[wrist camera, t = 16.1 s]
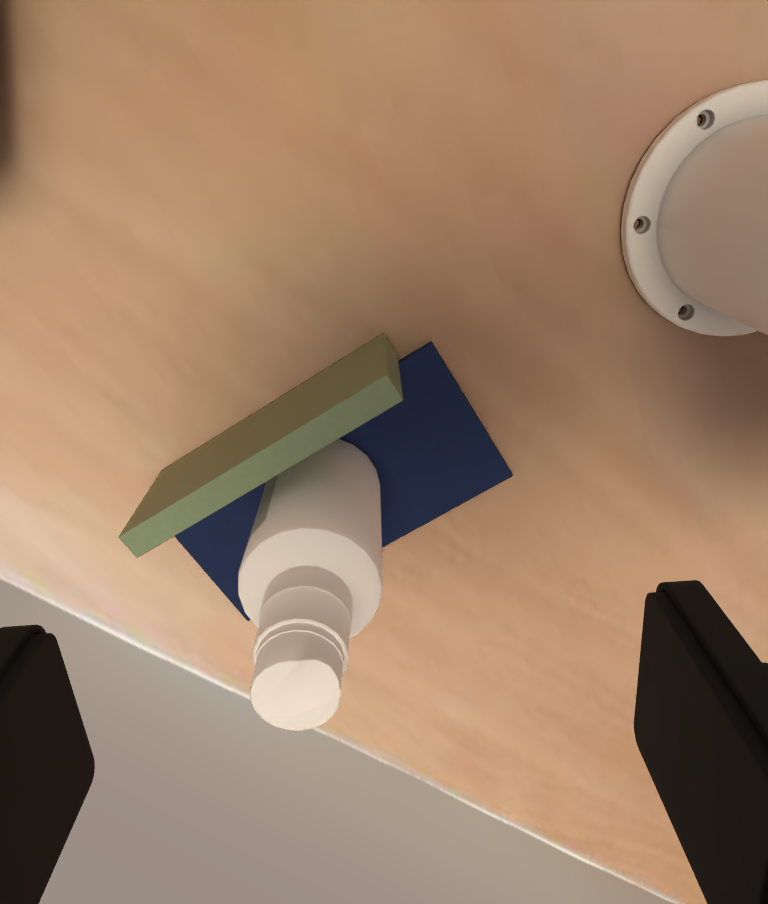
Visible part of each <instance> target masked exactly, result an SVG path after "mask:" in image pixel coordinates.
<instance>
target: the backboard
mask: <svg viewBox="0 0 768 904" xmlns="http://www.w3.org/2000/svg"><path fill="white" fill-rule="evenodd" d="M401 401H403V395H402V387H401V379H400V370H399V362H398V354H397V352H396V351H395V349H394V347H393V346H392V344H391V343H390V341H389V340H388V338H387V336H386V335H385V333H383V334H381V335H379V336H378V337H376V338H375V339H373V340H371V341H370V342H368V343H367V344H365V345H363V346H362V347H360V348H358V349H357V350H355V351H354V352H352V353H350V354H349V355H347V356H346V357H344V358H342V359H341V360H339V361H337V362H336V363H334V364H333V365H331V366H329V367H328V368H326V369H325V370H323V371H321V372H320V373H318V374H316V375H315V376H313V377H312V378H310V379H308V380H307V381H305V382H304V383H302V384H300V385H299V386H297V387H295V388H294V389H292V390H291V391H289V392H287V393H286V394H284V395H283V396H281V397H279V398H278V399H276V400H274V401H273V402H271V403H270V404H268V405H266V406H265V407H263V408H262V409H260V410H258V411H257V412H255V413H253V414H252V415H250V416H249V417H247V418H245V419H244V420H242V421H241V422H239V423H237V424H236V425H234V426H232V427H231V428H229V429H228V430H226V431H224V432H223V433H221V434H220V435H218V436H216V437H215V438H213V439H212V440H210V441H208V442H207V443H205V444H203V445H202V446H200V447H199V448H197V449H195V450H194V451H192V452H191V453H189V454H187V455H186V456H184V457H182V458H181V459H179V460H178V461H176V462H174V463H173V464H171V465H170V466H168V467H166V468H165V469H163V470H162V471H161V472H160V474H159V475H158V477H157V478H156V480H155V481H154V483H153V485H152V486H151V488H150V489H149V491H148V492H147V494H146V495H145V497H144V498H143V500H142V501H141V503H140V505H139V506H138V508H137V509H136V511H135V512H134V514H133V515H132V517H131V518H130V520H129V521H128V523H127V525H126V526H125V528H124V529H123V531H122V532H121V534H120V535H119V538H120V539H121V541H122V542H123V543H124V544H125V545H126V546H127V547H128V548H129V549H130V551H131V552H132V553H133V554H134V555H135V556H136V557H137V558H138V557H140V556H142V555H143V554H145V553H147V552H148V551H150V550H152V549H153V548H155V547H157V546H158V545H160V544H162V543H163V542H165V541H167V540H169V539H170V538H172V537H174V536H175V535H177V534H179V533H180V532H182V531H184V530H185V529H187V528H189V527H190V526H192V525H194V524H196V523H197V522H199V521H201V520H202V519H204V518H206V517H207V516H209V515H211V514H212V513H214V512H216V511H217V510H219V509H221V508H222V507H224V506H226V505H228V504H229V503H231V502H233V501H234V500H236V499H238V498H239V497H241V496H243V495H244V494H246V493H248V492H249V491H251V490H253V489H255V488H256V487H258V486H260V485H261V484H263V483H265V482H266V481H268V480H270V479H271V478H273V477H275V476H276V475H278V474H280V473H281V472H283V471H285V470H287V469H288V468H290V467H292V466H293V465H295V464H297V463H298V462H300V461H302V460H303V459H305V458H307V457H308V456H310V455H312V454H314V453H315V452H317V451H319V450H320V449H322V448H324V447H325V446H327V445H329V444H330V443H332V442H334V441H335V440H337V439H339V438H341V437H342V436H344V435H346V434H347V433H349V432H351V431H352V430H354V429H356V428H357V427H359V426H361V425H362V424H364V423H366V422H367V421H369V420H371V419H373V418H374V417H376V416H378V415H379V414H381V413H383V412H384V411H386V410H388V409H389V408H391V407H393V406H394V405H396V404H398V403H400V402H401Z"/></svg>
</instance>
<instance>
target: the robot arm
mask: <svg viewBox="0 0 768 904" xmlns="http://www.w3.org/2000/svg"><path fill="white" fill-rule="evenodd" d="M698 115H701V116H702V123H701V124H700V125H699V126H698V125H697V117H698ZM636 219H640V222H641V223H640V226H639V227H638V228H634V226H633V225H634V222H635V220H636ZM621 240H622V252H623V256H624V260H625V264H626V267H627V271H628V274H629V276H630V278H631V280H632V282H633V284H634V285H635V287H636V289H637V291H638V293H639V294H640V295H641V296H642V298H643V299H644V300H645V301H646V302H647V303H648V305H649V306H650V307H651V308H652V309H654V310H655V311H656V312H657V313H659V314H660V315H661V316H663V317H664V318H665V319H667V320H668V321H670V322H672V323H674V324H675V325H677V326H679V327H681V328H684V329H687V330H690V331H693V332H696V333H699V334H705V335H713V336H736V335H745V334H749V333H753V332H757V331H760V332H762V333H764V334H766V335H768V80H764V81H757V82H750V83H744V84H740V85H737V86H733V87H730V88H726V89H723V90H720V91H718V92H716V93H714V94H712V95H710V96H708V97H706V98H704V99H702V100H700V101H698V102H696V103H695V104H693V105H692V106H691V107H689V108H688V109H687V110H685V111H684V112H683V113H681V114H680V115H679V116H677V117H676V118H675V119H674V120H673V121H672V122H671V123H670V124H669V125H668V126H667V127H666V128H665V129H664V130H663V131H662V132H661V133H660V134H659V135H658V136H657V137H656V139H655V140H654V142H653V143H652V145H651V146H650V147H649V149H648V150H647V152H646V153H645V155H644V156H643V158H642V159H641V161H640V163H639V165H638V167H637V169H636V172H635V174H634V176H633V178H632V180H631V182H630V185H629V189H628V192H627V196H626V199H625V202H624V206H623V214H622V224H621ZM682 306H683V307H684V309H683V311H682V312H681V313H679V314H678V312H679V309H680V308H681V307H682ZM634 732H635V738H636V742H637V745H638V748H639V750H640V753H641V755H642V757H643V759H644V762H645V764H646V766H647V768H648V771H649V773H650V775H651V777H652V780H653V782H654V784H655V786H656V789H657V791H658V793H659V795H660V798H661V800H662V802H663V804H664V807H665V809H666V811H667V813H668V816H669V818H670V820H671V822H672V825H673V827H674V829H675V832H676V834H677V836H678V838H679V841H680V843H681V845H682V847H683V850H684V852H685V854H686V856H687V859H688V861H689V863H690V865H691V868H692V870H693V872H694V874H695V877H696V879H697V881H698V883H699V886H700V888H701V890H702V892H703V895H704V897H705V899H706V901H707V904H768V663H762V662H761V661H760V660H759V658H758V657H757V656H756V654H755V653H754V652H753V650H752V649H751V648H750V646H749V645H748V644H747V642H746V641H745V640H744V638H743V637H742V636H741V635H740V633H739V632H738V631H737V629H736V628H735V627H734V625H733V624H732V623H731V621H730V620H729V619H728V617H727V616H726V615H725V613H724V612H723V611H722V609H721V608H720V607H719V605H718V604H717V603H716V601H715V600H714V599H713V597H712V596H711V595H710V593H709V592H708V591H707V590H706V588H705V587H704V586H703V584H702V583H701V582H700V581H696V580H692V581H677V582H663V583H660V584H659V585H658V587H657V590H656V592H654V593H648V594H647V596H646V600H645V609H644V620H643V631H642V641H641V652H640V663H639V674H638V684H637V695H636V706H635V717H634ZM94 768H95V767H94V757H93V754H92V751H91V747H90V744H89V741H88V738H87V735H86V731H85V728H84V725H83V722H82V719H81V716H80V712H79V709H78V706H77V703H76V699H75V696H74V694H73V690H72V687H71V684H70V680H69V677H68V674H67V671H66V668H65V664H64V661H63V658H62V655H61V652H60V648H59V645H58V643H57V640H56V638H55V636H54V635H53V634H51V633H46V632H45V630H44V629H43V628H42V626H39V625H26V626H12V627H3V628H0V904H39V902H40V899H41V897H42V895H43V893H44V890H45V888H46V886H47V883H48V881H49V879H50V877H51V874H52V872H53V869H54V867H55V865H56V863H57V860H58V858H59V856H60V854H61V851H62V849H63V847H64V845H65V843H66V840H67V838H68V836H69V833H70V831H71V829H72V827H73V824H74V822H75V820H76V818H77V815H78V813H79V811H80V808H81V806H82V804H83V802H84V799H85V797H86V795H87V793H88V790H89V788H90V786H91V783H92V780H93V776H94Z"/></svg>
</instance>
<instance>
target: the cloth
mask: <svg viewBox="0 0 768 904" xmlns="http://www.w3.org/2000/svg"><path fill="white" fill-rule="evenodd" d="M398 362H399V370H400V379H401V387H402V395H403V401H401V402H400V403H398V404H396V405H394V406H393V407H391V408H389V409H388V410H386V411H384V412H383V413H381V414H379V415H378V416H376V417H374V418H373V419H371V420H369V421H367V422H366V423H364V424H362V425H361V426H359V427H357V428H356V429H354V430H352V431H351V432H349V433H347V434H346V435H344V436H342V437H341V438H339V439H340V440H343V441H345V442H348V443H350V444H353V445H354V446H356V447H357V448H358V449H359V450H361V451H362V452H363V453H364V454H366V455H367V456H368V458H369V459H370V461H371V462H372V464H373V465H374V467H375V468H376V471H377V475H378V479H379V483H380V498H381V534H382V547H384V546H386V545H388V544H389V543H391V542H393V541H395V540H397V539H399V538H400V537H402V536H404V535H406V534H408V533H409V532H411V531H413V530H415V529H417V528H419V527H420V526H422V525H424V524H426V523H428V522H430V521H431V520H433V519H435V518H437V517H439V516H440V515H442V514H444V513H446V512H448V511H450V510H451V509H453V508H455V507H457V506H459V505H461V504H462V503H464V502H466V501H468V500H470V499H471V498H473V497H475V496H477V495H479V494H481V493H482V492H484V491H486V490H488V489H490V488H492V487H493V486H495V485H497V484H499V483H501V482H502V481H504V480H506V479H508V478H510V477H512V476H513V474H512V472H511V471H510V469H509V467H508V466H507V464H506V463H505V461H504V459H503V458H502V456H501V454H500V453H499V451H498V449H497V448H496V446H495V445H494V443H493V441H492V440H491V438H490V436H489V435H488V433H487V431H486V430H485V428H484V427H483V425H482V423H481V422H480V420H479V418H478V417H477V415H476V413H475V412H474V410H473V409H472V407H471V405H470V404H469V402H468V400H467V399H466V397H465V395H464V394H463V392H462V391H461V389H460V387H459V386H458V384H457V382H456V381H455V379H454V377H453V376H452V374H451V373H450V371H449V369H448V368H447V366H446V364H445V363H444V361H443V359H442V358H441V356H440V355H439V353H438V351H437V350H436V348H435V346H434V345H433V343H432V342H429V343H428V344H426V345H424V346H423V347H421V348H419V349H418V350H416V351H414V352H413V353H411V354H410V355H408V356H406V357H405V358H403V359H401V360H400V361H398ZM266 482H267V481H266ZM266 482H265V483H263V484H261V485H260V486H258V487H256V488H255V489H253V490H251V491H249V492H248V493H246V494H244V495H243V496H241V497H239V498H238V499H236V500H234V501H233V502H231V503H229V504H228V505H226V506H224V507H222V508H221V509H219V510H217V511H216V512H214V513H212V514H211V515H209V516H207V517H206V518H204V519H202V520H201V521H199V522H197V523H196V524H194V525H192V526H190V527H189V528H187V529H185V530H184V531H182V532H180V533H179V534H177V535H175V537H176V538H177V540H178V541H179V542H180V543H181V544H182V545H183V547H184V548H185V549H186V550H187V551H188V552H189V554H190V555H191V556H192V557H193V558H194V559H195V560H196V562H197V563H198V564H199V565H200V566H201V567H202V569H203V570H204V571H205V572H206V573H207V574H208V576H209V577H210V578H211V579H212V580H213V581H214V583H215V584H216V585H217V586H218V587H219V588H220V590H221V591H222V592H223V593H224V594H225V595H226V596H227V598H228V599H229V600H230V601H231V602H232V603H233V605H234V606H235V607H236V608H237V609H238V610H239V612H240V613H241V614H242V615H243V616H244V617H245V619H246V620H247V621H249V620H251V619H250V618H249V617H248V616H247V615H246V613H245V611H244V608H243V606H242V603H241V600H240V597H239V594H238V572H239V569H240V566H241V562H242V559H243V556H244V553H245V550H246V546H247V543H248V540H249V537H250V533H251V530H252V527H253V524H254V521H255V517H256V514H257V511H258V508H259V505H260V501H261V498H262V495H263V492H264V488H265V485H266Z"/></svg>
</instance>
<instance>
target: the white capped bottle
mask: <svg viewBox="0 0 768 904" xmlns="http://www.w3.org/2000/svg"><path fill="white" fill-rule="evenodd" d="M382 585H383V571H382V534H381V498H380V483H379V479H378V475H377V471H376V468H375V467H374V465H373V464H372V462H371V461H370V459H369V458H368V456H367V455H366V454H364V453H363V452H362V451H361V450H359V449H358V448H357V447H356V446H354V445H353V444H350V443H348V442H345V441H343V440H340V439H337V440H335V441H334V442H332V443H330V444H329V445H327V446H325V447H324V448H322V449H320V450H319V451H317V452H315V453H314V454H312V455H310V456H308V457H307V458H305V459H303V460H302V461H300V462H298V463H297V464H295V465H293V466H292V467H290V468H288V469H287V470H285V471H283V472H281V473H280V474H278V475H276V476H275V477H273V478H271V479H270V480H268V481H267V482H266V485H265V488H264V492H263V495H262V498H261V501H260V505H259V508H258V511H257V514H256V517H255V521H254V524H253V527H252V530H251V533H250V537H249V540H248V543H247V546H246V550H245V553H244V556H243V559H242V562H241V566H240V569H239V572H238V594H239V597H240V600H241V603H242V606H243V608H244V611H245V613H246V615H247V616H248V617H249V618H250V619H251V621H252V622H253V623H254V624H255V626H256V627H257V628H258V631H257V635H256V640H255V644H254V648H253V662H254V665H255V670H254V675H253V679H252V684H251V696H250V698H251V701H252V704H253V706H254V709H255V710H256V712H257V713H258V714H259V715H260V716H261V717H262V718H263V719H264V720H265V721H267V722H269V723H270V724H272V725H273V726H276V727H280V728H283V729H286V730H306V729H311V728H315V727H317V726H319V725H321V724H323V723H325V722H326V721H327V720H328V719H330V718H331V717H332V716H333V715H334V714H335V712H336V710H337V708H338V706H339V704H340V694H341V678H342V676H343V674H344V672H345V670H346V668H347V664H348V651H349V638H351V637H353V636H355V635H357V634H358V633H359V632H360V631H361V630H362V629H363V628H364V627H365V626H366V625H367V624H368V623H369V622H371V620H372V618H373V616H374V614H375V612H376V610H377V608H378V606H379V604H380V602H381V594H382Z"/></svg>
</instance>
